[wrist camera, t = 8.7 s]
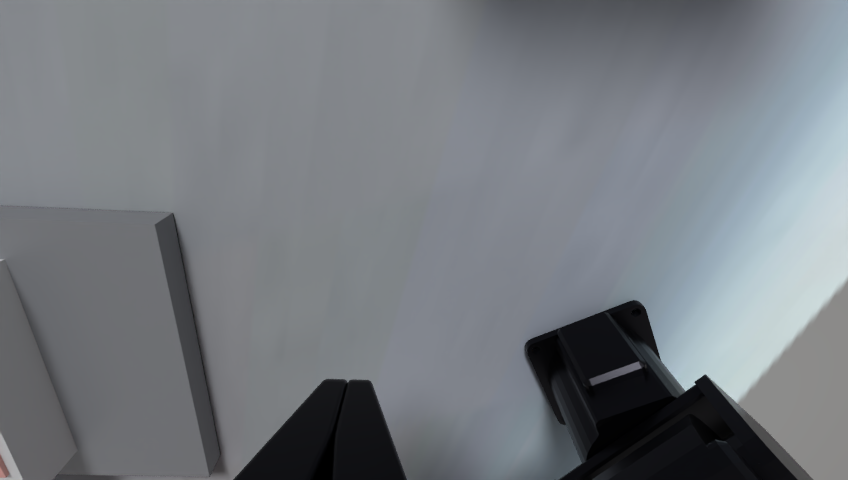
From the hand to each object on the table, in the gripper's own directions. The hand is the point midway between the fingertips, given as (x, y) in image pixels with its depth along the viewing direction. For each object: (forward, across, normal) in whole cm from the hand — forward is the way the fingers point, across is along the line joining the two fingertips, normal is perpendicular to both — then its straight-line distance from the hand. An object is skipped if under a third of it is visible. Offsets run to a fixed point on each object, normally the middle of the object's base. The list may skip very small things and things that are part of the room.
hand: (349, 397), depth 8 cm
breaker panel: (+13, +19, +10) cm, 25 cm away
